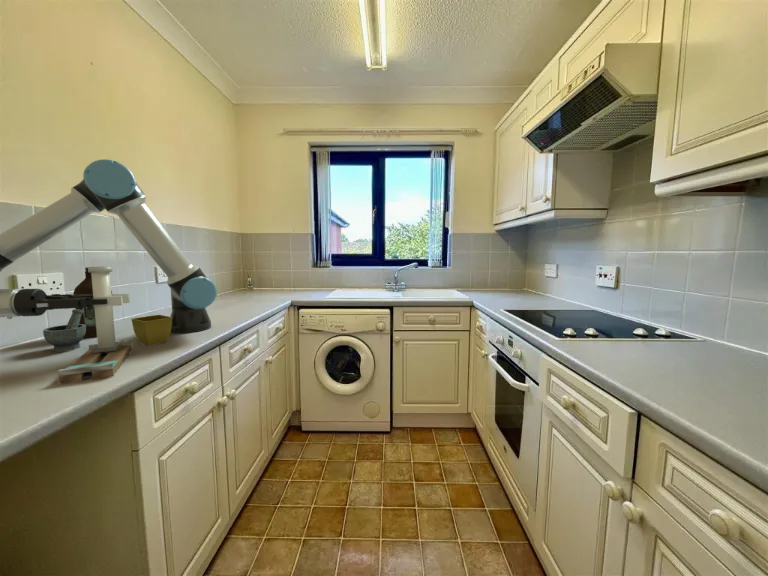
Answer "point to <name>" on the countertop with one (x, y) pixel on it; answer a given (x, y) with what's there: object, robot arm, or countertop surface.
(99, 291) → the slider
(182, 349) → the countertop surface
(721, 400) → the countertop surface
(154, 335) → the flower pot
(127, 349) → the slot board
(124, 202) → the robot arm
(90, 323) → the olive oil
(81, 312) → the mortar and pestle
